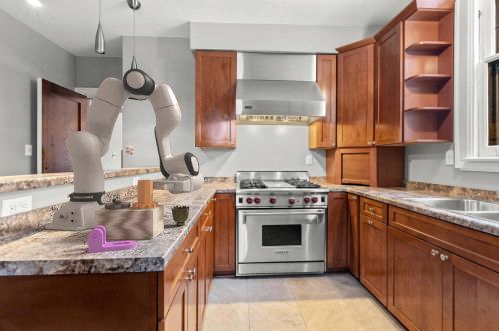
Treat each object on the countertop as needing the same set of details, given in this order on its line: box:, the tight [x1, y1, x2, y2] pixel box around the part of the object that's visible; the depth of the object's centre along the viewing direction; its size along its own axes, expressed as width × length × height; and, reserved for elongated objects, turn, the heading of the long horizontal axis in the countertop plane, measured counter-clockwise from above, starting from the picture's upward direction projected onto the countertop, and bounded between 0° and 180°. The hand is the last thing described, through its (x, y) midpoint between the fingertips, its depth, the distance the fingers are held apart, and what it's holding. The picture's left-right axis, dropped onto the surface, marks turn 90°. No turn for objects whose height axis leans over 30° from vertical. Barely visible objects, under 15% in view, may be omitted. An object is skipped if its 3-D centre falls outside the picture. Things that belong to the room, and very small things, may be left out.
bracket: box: [87, 225, 137, 254], centre depth 86 cm, size 13×6×7 cm, turn 109°
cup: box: [171, 205, 190, 227], centre depth 116 cm, size 8×7×8 cm
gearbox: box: [95, 198, 165, 240], centre depth 102 cm, size 20×13×14 cm, turn 92°
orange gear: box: [131, 179, 159, 209], centre depth 102 cm, size 9×9×10 cm
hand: (153, 186), depth 105 cm, fingers open, 8 cm apart
